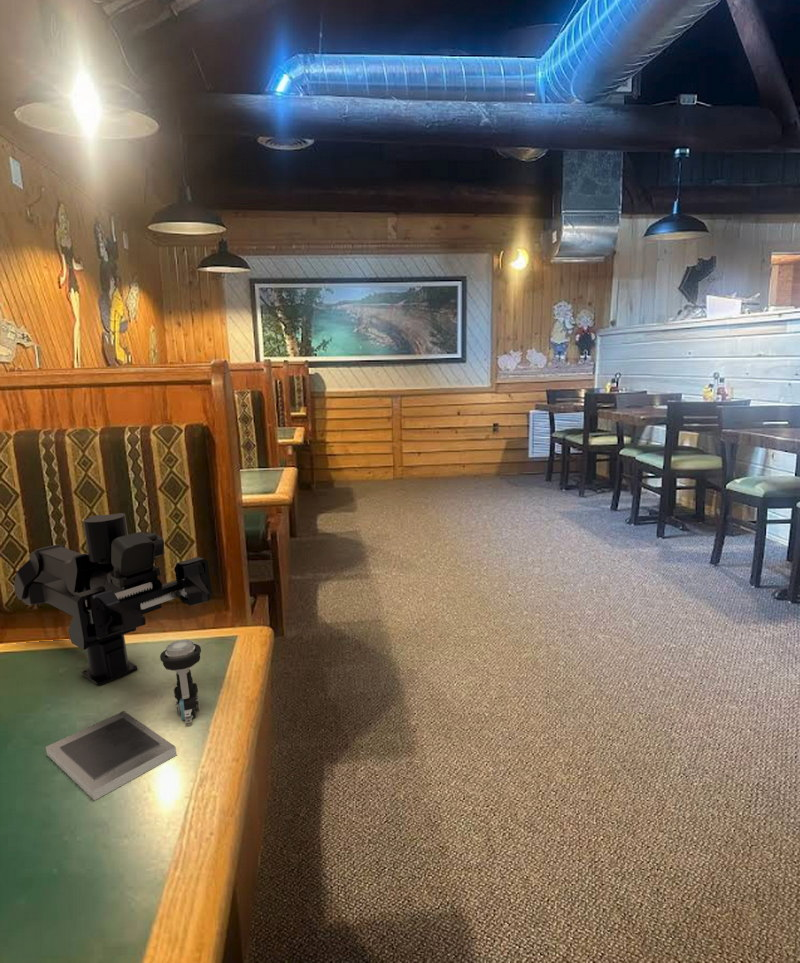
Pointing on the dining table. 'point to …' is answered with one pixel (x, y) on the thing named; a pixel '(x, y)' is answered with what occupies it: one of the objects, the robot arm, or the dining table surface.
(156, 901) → the dining table surface
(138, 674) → the dining table surface
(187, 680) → the push button
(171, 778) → the dining table surface
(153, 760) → the mounting plate
